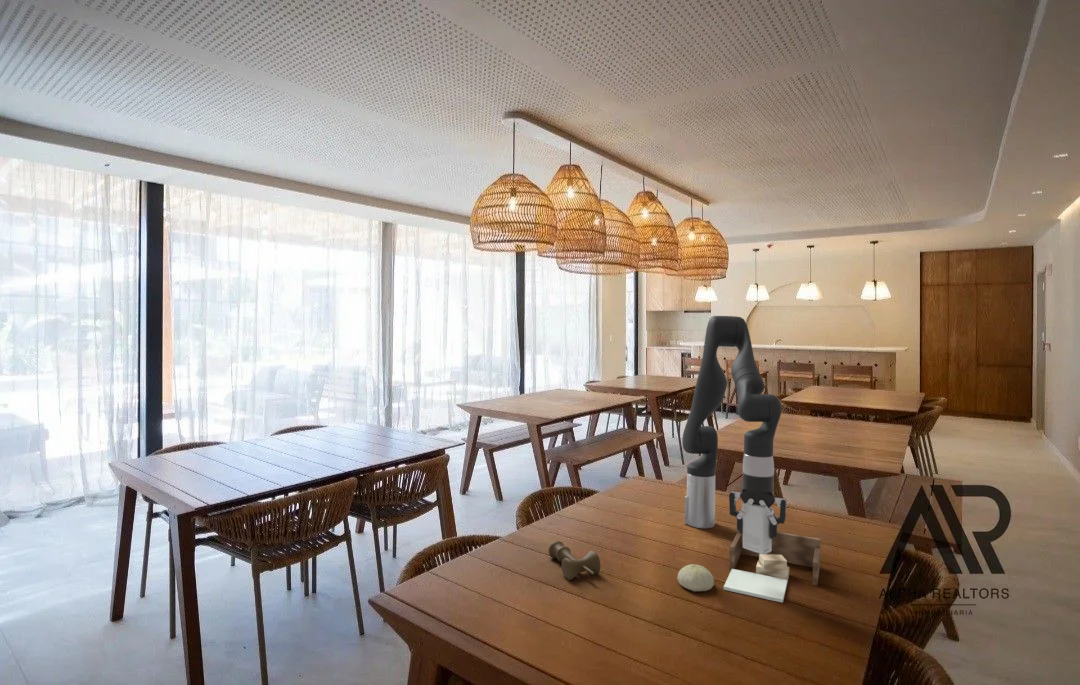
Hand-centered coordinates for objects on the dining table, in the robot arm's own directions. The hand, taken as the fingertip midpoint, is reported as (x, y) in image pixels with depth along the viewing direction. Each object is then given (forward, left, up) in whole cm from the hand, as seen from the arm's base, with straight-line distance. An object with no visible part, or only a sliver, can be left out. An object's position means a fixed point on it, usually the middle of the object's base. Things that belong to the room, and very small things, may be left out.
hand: (756, 535), depth 146 cm
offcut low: (+3, +10, -14) cm, 17 cm away
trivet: (0, 0, -13) cm, 13 cm away
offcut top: (+3, +10, -11) cm, 15 cm away
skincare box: (0, 0, -4) cm, 4 cm away
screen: (+3, +14, -13) cm, 20 cm away
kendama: (-45, -14, -14) cm, 50 cm away
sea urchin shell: (-14, -7, -14) cm, 21 cm away
